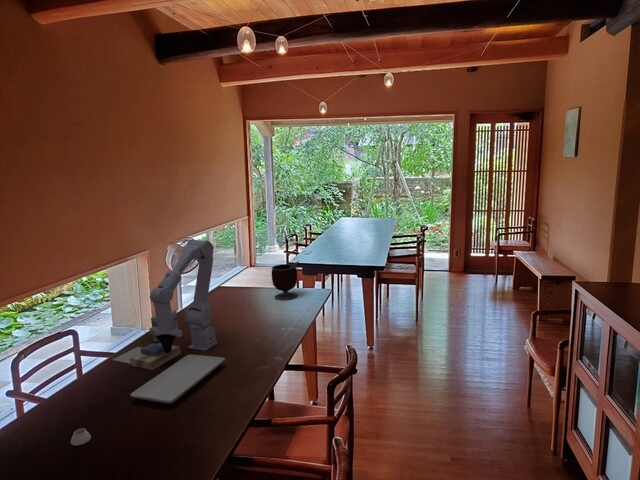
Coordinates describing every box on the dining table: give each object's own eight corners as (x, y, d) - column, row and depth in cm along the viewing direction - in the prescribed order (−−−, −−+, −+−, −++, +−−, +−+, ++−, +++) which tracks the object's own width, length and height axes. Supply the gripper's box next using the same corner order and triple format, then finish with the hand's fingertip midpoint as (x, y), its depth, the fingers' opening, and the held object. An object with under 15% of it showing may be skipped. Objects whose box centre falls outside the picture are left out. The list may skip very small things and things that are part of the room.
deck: (180, 353, 182) (179, 346, 181) (152, 370, 169) (151, 362, 168) (160, 350, 187) (159, 343, 186) (131, 365, 173) (130, 358, 173)
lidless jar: (86, 446, 124) (94, 435, 129) (84, 436, 124) (92, 425, 129) (67, 447, 124) (76, 436, 129) (65, 437, 124) (75, 427, 129)
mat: (157, 350, 186) (157, 350, 186) (132, 364, 174) (132, 363, 174) (137, 347, 191) (137, 346, 191) (111, 360, 179) (111, 359, 179)
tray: (129, 403, 146) (128, 393, 145) (189, 361, 175) (188, 353, 174) (172, 411, 140) (171, 401, 139) (227, 366, 169) (226, 357, 168)
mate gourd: (270, 301, 243) (267, 264, 240) (277, 293, 257) (274, 258, 253) (298, 301, 241) (296, 264, 237) (303, 293, 254) (301, 258, 251)
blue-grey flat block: (167, 350, 178) (167, 345, 178) (156, 356, 173) (155, 351, 172) (152, 347, 182) (152, 343, 181) (141, 353, 176) (140, 349, 176)
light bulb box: (167, 342, 195) (164, 318, 193) (153, 341, 196) (150, 317, 194) (179, 332, 205) (176, 309, 203) (166, 332, 206) (163, 309, 205)
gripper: (141, 320, 171) (146, 353, 173) (171, 324, 165) (175, 359, 167) (155, 313, 177) (159, 346, 180) (184, 317, 171) (188, 351, 174)
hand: (168, 352), depth 174 cm, fingers closed
